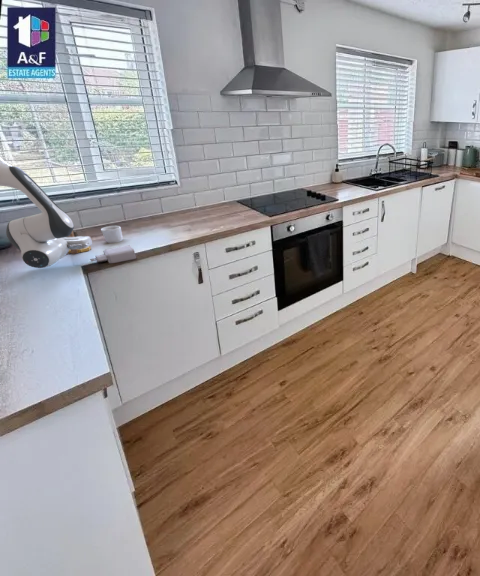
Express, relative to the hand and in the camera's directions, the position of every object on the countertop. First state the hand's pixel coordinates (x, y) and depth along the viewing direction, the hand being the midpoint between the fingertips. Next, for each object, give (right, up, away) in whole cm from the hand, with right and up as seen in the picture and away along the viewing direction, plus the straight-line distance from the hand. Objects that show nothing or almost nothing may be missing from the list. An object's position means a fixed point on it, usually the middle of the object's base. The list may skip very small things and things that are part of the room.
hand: (66, 238), depth 154 cm
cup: (+1, +1, +26) cm, 26 cm away
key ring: (-3, -4, +10) cm, 11 cm away
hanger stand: (-3, -5, +11) cm, 12 cm away
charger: (+19, -10, +1) cm, 21 cm away
